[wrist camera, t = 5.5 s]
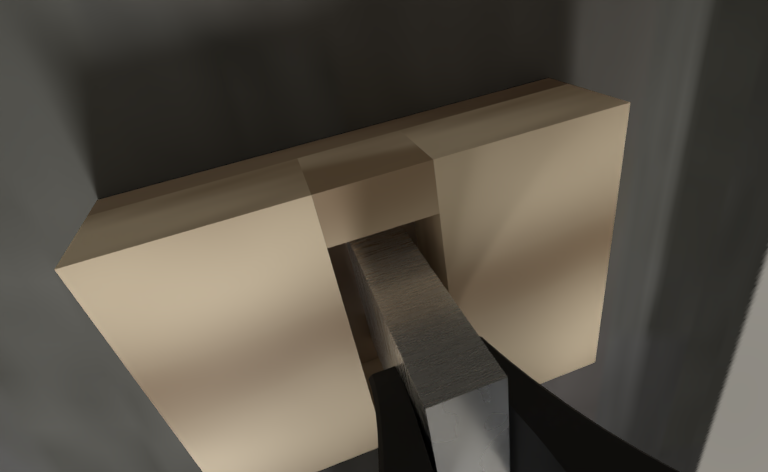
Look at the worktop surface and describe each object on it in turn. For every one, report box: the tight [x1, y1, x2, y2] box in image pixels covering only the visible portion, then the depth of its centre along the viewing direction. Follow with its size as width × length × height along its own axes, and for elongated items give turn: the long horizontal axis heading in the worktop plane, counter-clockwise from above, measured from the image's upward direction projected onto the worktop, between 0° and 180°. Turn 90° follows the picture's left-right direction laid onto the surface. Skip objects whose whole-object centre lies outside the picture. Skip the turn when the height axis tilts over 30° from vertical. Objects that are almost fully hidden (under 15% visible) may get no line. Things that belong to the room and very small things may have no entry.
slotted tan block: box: [54, 78, 630, 472], centre depth 14 cm, size 10×14×4 cm
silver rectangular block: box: [346, 225, 510, 472], centre depth 12 cm, size 5×2×7 cm, turn 9°
